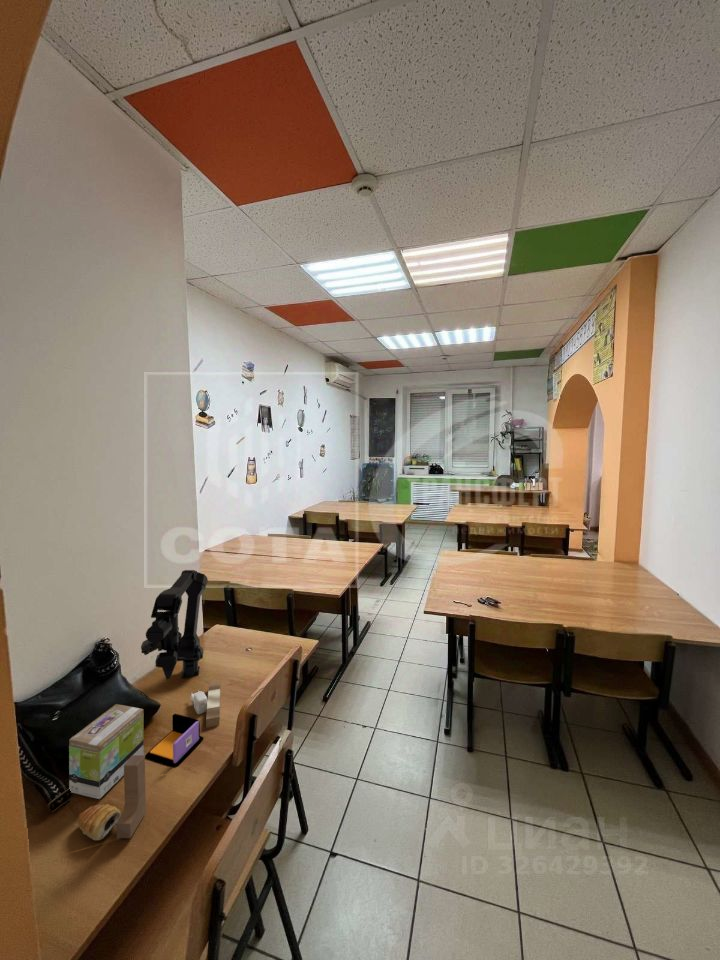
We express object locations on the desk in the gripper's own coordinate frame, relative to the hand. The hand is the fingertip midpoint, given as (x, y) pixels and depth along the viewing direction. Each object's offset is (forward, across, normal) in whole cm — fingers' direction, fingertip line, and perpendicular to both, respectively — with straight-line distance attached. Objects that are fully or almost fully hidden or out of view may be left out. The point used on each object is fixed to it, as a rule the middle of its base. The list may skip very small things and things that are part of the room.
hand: (169, 671), depth 133 cm
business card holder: (+12, +22, +4) cm, 26 cm away
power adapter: (+12, +4, +9) cm, 16 cm away
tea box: (+12, +26, -12) cm, 31 cm away
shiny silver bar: (+12, +7, +14) cm, 20 cm away
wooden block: (+12, +45, -3) cm, 47 cm away
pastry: (+13, +40, -11) cm, 43 cm away
